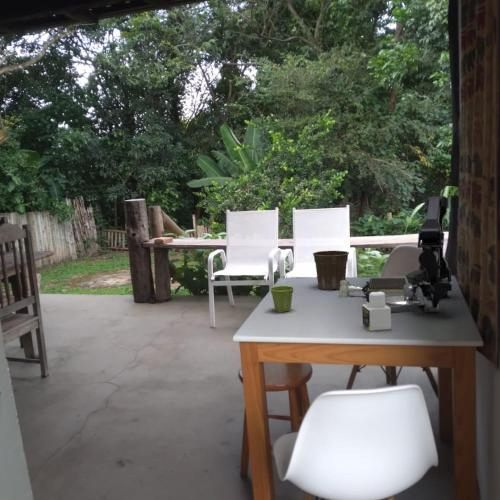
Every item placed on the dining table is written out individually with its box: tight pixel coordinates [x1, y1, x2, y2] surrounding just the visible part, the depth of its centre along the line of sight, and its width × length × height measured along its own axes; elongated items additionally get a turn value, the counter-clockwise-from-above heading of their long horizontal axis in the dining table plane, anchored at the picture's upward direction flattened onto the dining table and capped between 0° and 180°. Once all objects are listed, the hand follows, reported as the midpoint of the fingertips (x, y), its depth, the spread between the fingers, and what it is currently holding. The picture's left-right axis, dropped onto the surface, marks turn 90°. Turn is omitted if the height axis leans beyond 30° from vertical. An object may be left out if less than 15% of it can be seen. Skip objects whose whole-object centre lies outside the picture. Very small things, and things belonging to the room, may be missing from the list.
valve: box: [339, 279, 370, 298], centre depth 202 cm, size 7×7×12 cm
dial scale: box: [385, 295, 424, 314], centre depth 181 cm, size 17×14×3 cm
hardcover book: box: [368, 277, 407, 293], centre depth 217 cm, size 16×23×2 cm
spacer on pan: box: [403, 284, 419, 301], centre depth 181 cm, size 5×5×5 cm
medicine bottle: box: [361, 290, 392, 332], centre depth 157 cm, size 7×7×12 cm
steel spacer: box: [422, 296, 440, 313], centre depth 172 cm, size 5×5×5 cm
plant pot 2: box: [312, 250, 350, 291], centre depth 221 cm, size 16×16×16 cm
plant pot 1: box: [269, 285, 295, 313], centre depth 186 cm, size 9×9×9 cm
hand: (430, 305), depth 173 cm, fingers open, 5 cm apart
